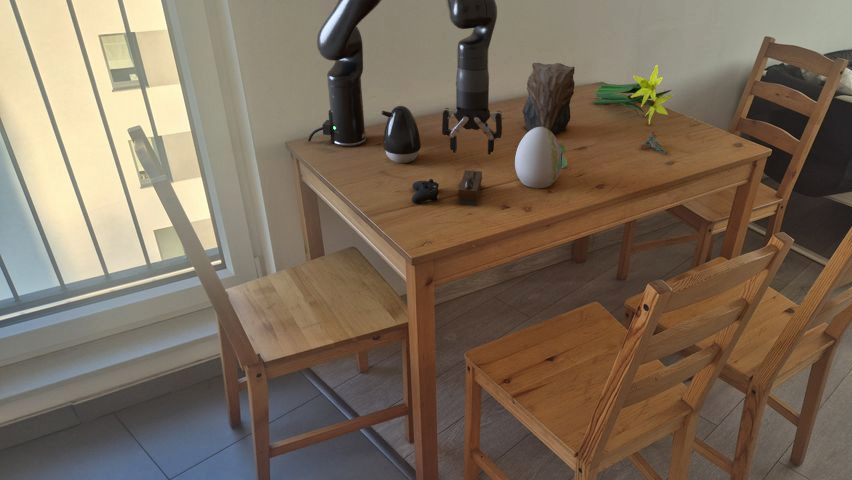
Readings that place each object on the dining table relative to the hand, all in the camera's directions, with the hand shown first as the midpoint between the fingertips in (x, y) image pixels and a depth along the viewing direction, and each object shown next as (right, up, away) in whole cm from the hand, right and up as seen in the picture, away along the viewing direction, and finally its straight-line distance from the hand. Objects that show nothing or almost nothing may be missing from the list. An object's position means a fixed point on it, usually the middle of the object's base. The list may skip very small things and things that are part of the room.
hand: (472, 152), depth 165 cm
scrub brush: (-1, -10, +6) cm, 12 cm away
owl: (+21, +16, +47) cm, 54 cm away
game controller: (-12, -10, +5) cm, 16 cm away
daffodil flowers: (+49, +25, +64) cm, 84 cm away
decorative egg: (+17, -5, +15) cm, 23 cm away
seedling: (+23, +1, +26) cm, 34 cm away
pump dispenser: (-20, +2, +24) cm, 32 cm away
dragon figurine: (+53, +8, +37) cm, 65 cm away
